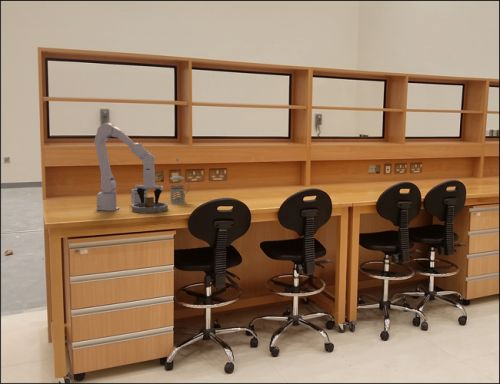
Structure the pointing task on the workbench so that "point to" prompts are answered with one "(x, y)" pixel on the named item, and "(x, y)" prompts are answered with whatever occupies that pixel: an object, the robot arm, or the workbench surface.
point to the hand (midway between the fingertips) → (149, 203)
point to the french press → (177, 188)
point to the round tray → (141, 208)
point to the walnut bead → (149, 202)
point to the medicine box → (136, 196)
